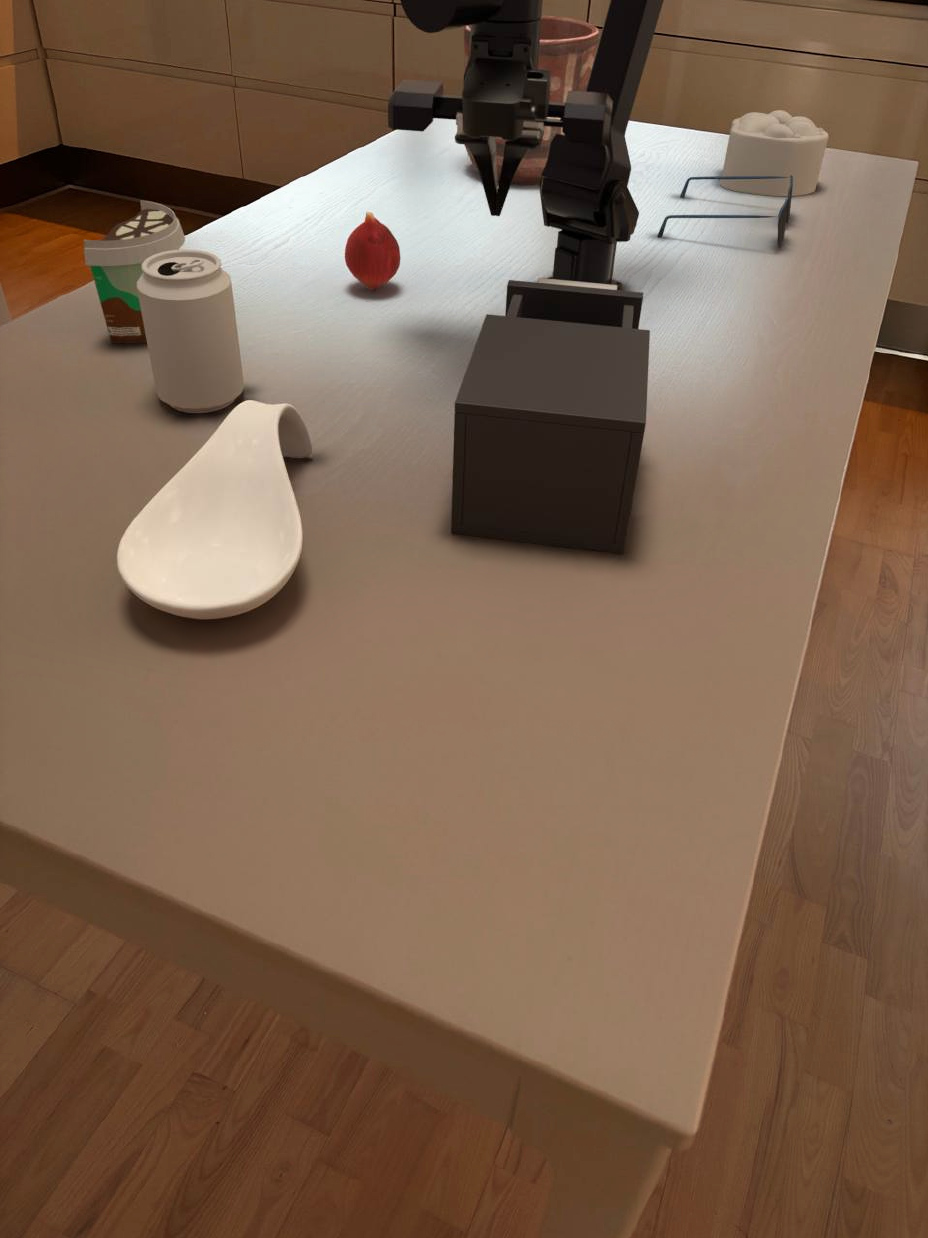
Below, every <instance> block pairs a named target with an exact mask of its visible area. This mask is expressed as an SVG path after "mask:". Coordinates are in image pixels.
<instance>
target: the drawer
mask: <svg viewBox="0 0 928 1238" xmlns="http://www.w3.org/2000/svg"><path fill="white" fill-rule="evenodd" d="M505 298H506V299H505V314H504V316H510V317H520V318H530V319H540V320H551V321H561V322H571V323H581V324H591V325H602V326H612V327H622V328H632V329H640V328H639V327H640V320H641V315H642V306H643V300H644V292H641V291H630V290H622V289H619V290H617V285H609V284H598V283H587V282H577V281H566V280H555V279H547V278H544V277H538V278H537V282H535V281H527V280H525V281H524V280H514V279H508V281H507V285H506V297H505Z"/></svg>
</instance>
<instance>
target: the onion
mask: <svg viewBox="0 0 928 1238" xmlns="http://www.w3.org/2000/svg"><path fill="white" fill-rule="evenodd" d="M344 261H345V265H346V267H347V269H348V270H349V272H350V273H351V274H352V276H353V277H354V278H355V279H356V280H358V281H359V282H360V283H361V284H362V285H364V286H365V287H366V288H367V289H368V290H370V291H375V290H378V289H379V288H380V287H382V286H383V285H386V284H387V283H388V282H389V281H390V280H391V279H392V278H393V277H394V276H395V275H396V274H397V272H398V270H399V268H400V265H401V249H400V246H399V243H398V240H397V238H396V237H395V236H394V234H393V233H392V231H391V230H390V229H389V227H388V226H386V224H384V223H382V222H381V221H380V220H378V218H376V217H375V215H374V213H372V211H366V213H365V217H364V221H363V222H362V223H360V224H359V225H358V226H356V227H355V229H353V231H352V232H351V233H350V234H349V236H348V238H347V241H346V244H345V248H344Z"/></svg>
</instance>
